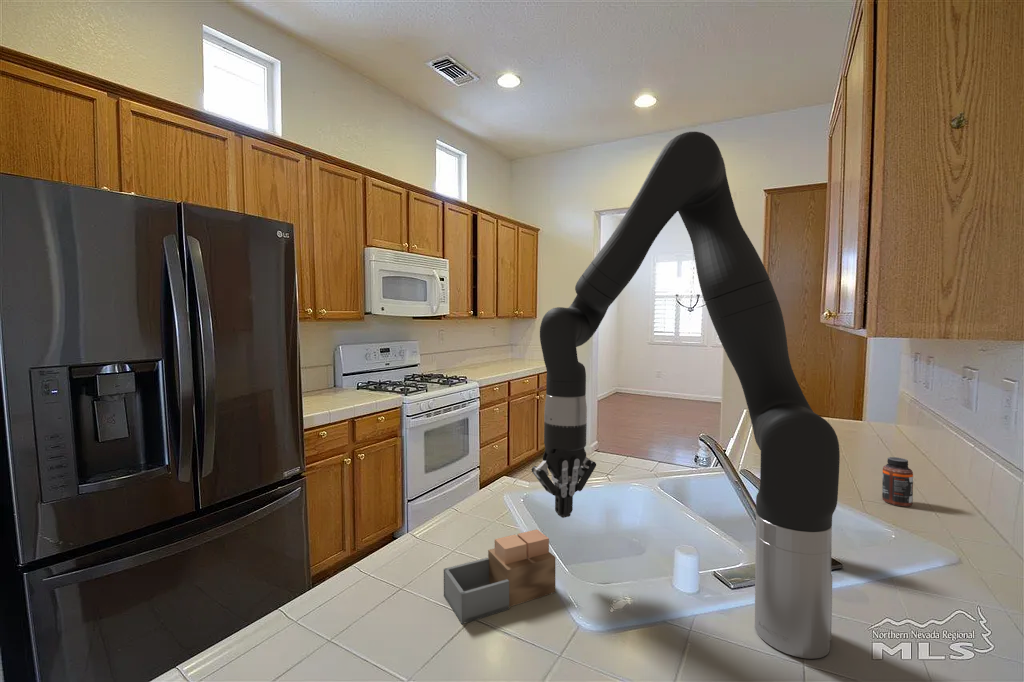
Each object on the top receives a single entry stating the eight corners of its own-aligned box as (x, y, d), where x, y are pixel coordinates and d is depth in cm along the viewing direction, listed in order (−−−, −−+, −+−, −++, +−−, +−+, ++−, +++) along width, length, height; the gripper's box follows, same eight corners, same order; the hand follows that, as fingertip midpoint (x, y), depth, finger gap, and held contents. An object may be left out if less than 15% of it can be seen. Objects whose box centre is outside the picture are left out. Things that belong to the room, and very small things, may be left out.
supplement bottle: (919, 507, 113) (920, 462, 112) (894, 507, 113) (895, 462, 113) (899, 498, 119) (900, 455, 118) (876, 498, 119) (876, 455, 118)
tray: (487, 583, 79) (487, 557, 79) (509, 609, 72) (509, 581, 72) (443, 595, 75) (443, 568, 75) (461, 624, 68) (461, 594, 68)
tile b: (515, 548, 79) (515, 534, 79) (526, 558, 76) (526, 543, 76) (494, 553, 77) (494, 539, 77) (505, 564, 74) (505, 549, 74)
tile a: (537, 543, 81) (537, 529, 81) (548, 552, 78) (548, 538, 78) (517, 548, 79) (517, 533, 79) (528, 558, 76) (528, 543, 76)
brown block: (533, 571, 83) (533, 538, 83) (555, 592, 76) (555, 557, 76) (488, 583, 79) (488, 549, 79) (507, 607, 72) (507, 570, 72)
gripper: (544, 427, 75) (543, 531, 75) (608, 420, 81) (606, 516, 81) (522, 418, 81) (521, 514, 82) (582, 413, 87) (581, 502, 88)
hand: (563, 515), depth 81 cm, fingers closed
